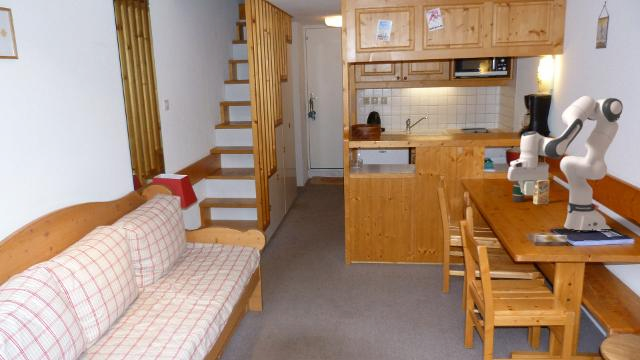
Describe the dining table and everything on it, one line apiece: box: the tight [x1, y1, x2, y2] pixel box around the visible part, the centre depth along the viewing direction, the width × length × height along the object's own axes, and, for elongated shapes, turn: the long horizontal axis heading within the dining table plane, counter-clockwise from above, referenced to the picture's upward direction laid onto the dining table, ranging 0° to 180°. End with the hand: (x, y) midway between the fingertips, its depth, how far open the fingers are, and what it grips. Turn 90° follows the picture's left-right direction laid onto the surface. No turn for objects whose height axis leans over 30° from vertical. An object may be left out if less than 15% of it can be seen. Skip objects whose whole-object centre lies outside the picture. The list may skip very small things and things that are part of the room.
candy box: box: [532, 179, 550, 206], centre depth 334 cm, size 9×4×15 cm, turn 107°
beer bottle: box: [512, 181, 526, 203], centre depth 341 cm, size 8×8×24 cm
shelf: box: [525, 232, 568, 247], centre depth 264 cm, size 15×14×5 cm
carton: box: [521, 181, 534, 196], centre depth 274 cm, size 4×8×7 cm, turn 177°
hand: (527, 188), depth 274 cm, fingers closed on carton, 4 cm apart
